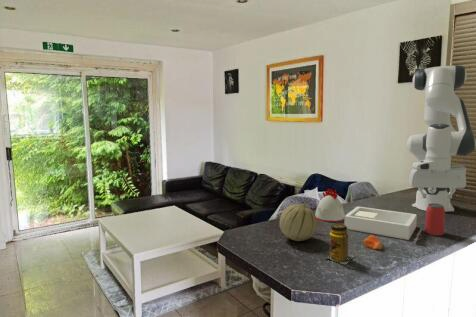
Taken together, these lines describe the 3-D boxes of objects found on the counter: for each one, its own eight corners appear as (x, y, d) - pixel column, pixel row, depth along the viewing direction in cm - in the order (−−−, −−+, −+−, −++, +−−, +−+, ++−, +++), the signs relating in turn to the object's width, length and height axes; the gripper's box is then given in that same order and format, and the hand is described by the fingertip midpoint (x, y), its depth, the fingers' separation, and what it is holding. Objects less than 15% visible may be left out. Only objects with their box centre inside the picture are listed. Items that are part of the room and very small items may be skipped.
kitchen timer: (334, 226, 148) (334, 193, 146) (309, 219, 158) (309, 189, 156) (350, 219, 157) (351, 188, 155) (326, 213, 167) (326, 184, 166)
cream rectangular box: (359, 221, 150) (359, 210, 150) (377, 224, 146) (378, 213, 145) (353, 226, 144) (354, 215, 143) (372, 229, 139) (373, 218, 139)
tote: (357, 219, 156) (357, 206, 155) (416, 229, 141) (416, 214, 140) (344, 230, 142) (344, 216, 141) (408, 242, 127) (409, 226, 126)
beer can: (446, 236, 131) (448, 207, 130) (428, 235, 133) (429, 207, 131) (440, 231, 138) (441, 203, 136) (423, 230, 139) (424, 202, 138)
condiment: (325, 259, 114) (325, 226, 112) (335, 251, 120) (335, 220, 119) (345, 265, 109) (345, 230, 108) (355, 256, 115) (355, 223, 114)
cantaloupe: (273, 236, 137) (272, 201, 135) (302, 231, 142) (302, 197, 141) (292, 249, 123) (292, 210, 121) (324, 242, 129) (324, 205, 127)
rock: (376, 258, 115) (377, 246, 115) (349, 246, 126) (349, 236, 125) (397, 250, 121) (398, 239, 121) (369, 240, 132) (370, 229, 131)
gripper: (462, 163, 133) (460, 197, 134) (408, 163, 137) (407, 196, 138) (470, 165, 127) (468, 200, 128) (413, 165, 131) (412, 199, 132)
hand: (436, 198), depth 133 cm, fingers open, 8 cm apart
